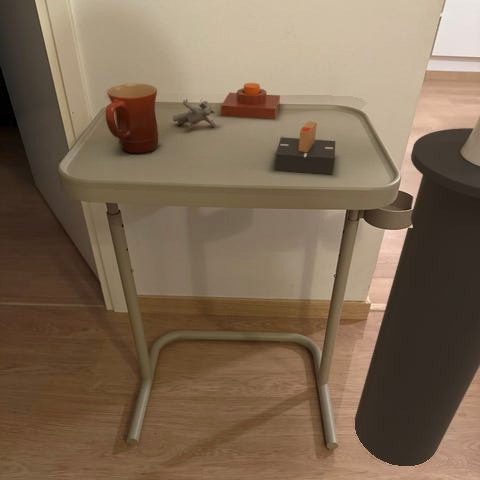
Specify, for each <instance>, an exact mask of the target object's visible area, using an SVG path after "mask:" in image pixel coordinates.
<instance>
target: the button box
mask: <svg viewBox="0 0 480 480" xmlns="http://www.w3.org/2000/svg"><path fill="white" fill-rule="evenodd" d="M280 105H281V95H280V94H267V90H266V89H264V88H260V93H259V94H245V93H244V87H243V88H239V89H237V91H236V92H228V94H227V96H226V97H225V98H224V100H223V102H222V103H221V104H220V113H221V114H220V115H221V117H236V118H248V119H249V118H250V119H265V120H266V119H267V120H276V116H277V114H278V111H279V108H280Z"/></svg>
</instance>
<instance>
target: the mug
mask: <svg viewBox="0 0 480 480" xmlns="http://www.w3.org/2000/svg"><path fill="white" fill-rule="evenodd" d="M106 95H107V97H108V99H109V101H110V103H109V104H107V105H106V107H105V111H104V112H105V113H104V115H105V116H104V117H105V122H106V125H107V128H108V130H109V131H110V134H111V135H112V136H113V137H115V138H117V139H118V143H119V145H120V148H121V149H122V150H123V151H125V152H126V153H129V154H134V155H141V154H147V153H150V152H152V151H154V150H155V149H156V148H157V147H158V144H159V130H158V122H157V121H158V120H157V115H156V101H157V95H158V89H157V87H156V86H153V85H151V84H146V83H123V84H118V85H114V86H111V87H109V88H108V89H107V90H106Z"/></svg>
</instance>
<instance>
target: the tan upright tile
mask: <svg viewBox="0 0 480 480" xmlns="http://www.w3.org/2000/svg"><path fill="white" fill-rule="evenodd" d="M316 132H317V122H316V121H307V122H306V123H305V124H304V125H303V126H302V128H301V129H300V130H299V150H298V151H301V152H308V151H309V149H310V148H311V147H312V145H313V144H314V142H315V140H316V134H317V133H316Z"/></svg>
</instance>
